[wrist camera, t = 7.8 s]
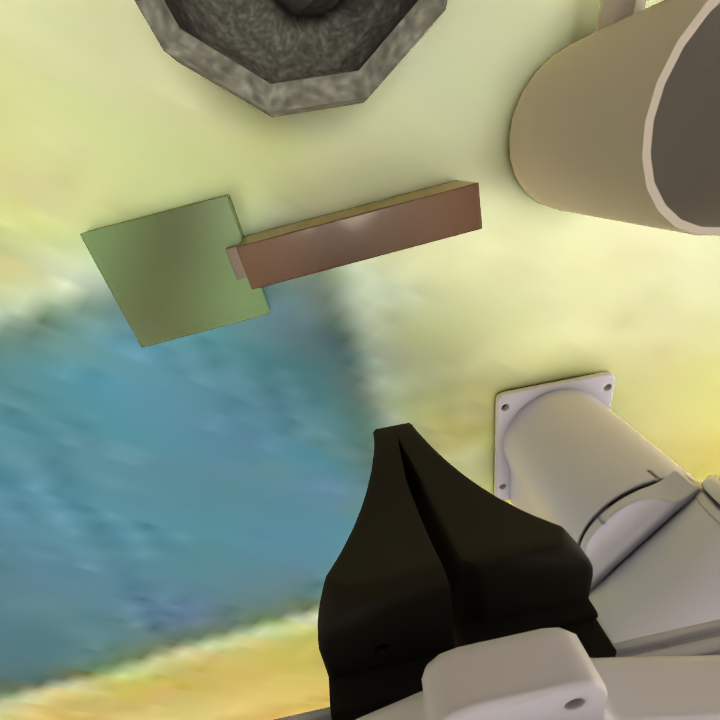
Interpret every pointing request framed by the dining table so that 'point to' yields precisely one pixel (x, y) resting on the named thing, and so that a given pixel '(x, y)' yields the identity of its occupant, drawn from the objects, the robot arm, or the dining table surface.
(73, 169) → the dining table surface
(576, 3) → the dining table surface
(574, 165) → the cup
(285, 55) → the mortar and pestle
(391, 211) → the spatula
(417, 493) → the robot arm
